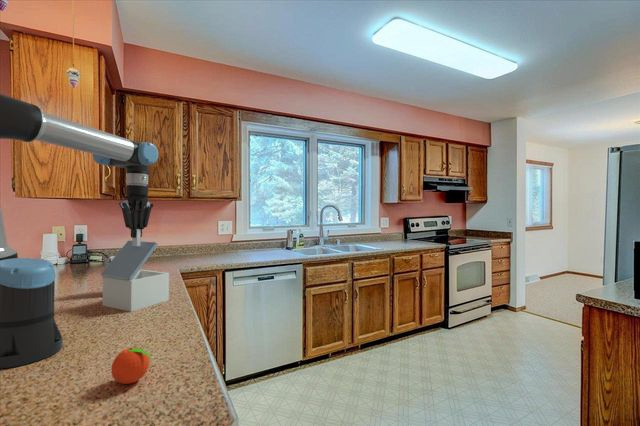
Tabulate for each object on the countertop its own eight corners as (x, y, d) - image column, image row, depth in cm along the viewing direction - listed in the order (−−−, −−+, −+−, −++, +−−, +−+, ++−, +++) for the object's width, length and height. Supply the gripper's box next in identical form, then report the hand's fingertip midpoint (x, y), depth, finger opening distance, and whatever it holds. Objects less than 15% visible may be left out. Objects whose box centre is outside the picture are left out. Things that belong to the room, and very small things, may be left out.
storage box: (131, 311, 113) (131, 280, 113) (102, 305, 120) (102, 276, 120) (168, 300, 128) (169, 273, 128) (141, 295, 135) (141, 269, 134)
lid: (130, 281, 113) (128, 279, 112) (101, 277, 119) (99, 275, 119) (158, 244, 123) (156, 242, 122) (130, 242, 130) (128, 240, 129)
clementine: (160, 373, 71) (160, 341, 71) (142, 391, 64) (142, 356, 64) (124, 373, 71) (125, 341, 71) (103, 390, 64) (103, 355, 64)
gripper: (127, 183, 116) (126, 248, 116) (158, 186, 128) (157, 245, 128) (114, 184, 119) (113, 246, 119) (145, 186, 131) (144, 244, 131)
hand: (136, 245), depth 123 cm, fingers closed
